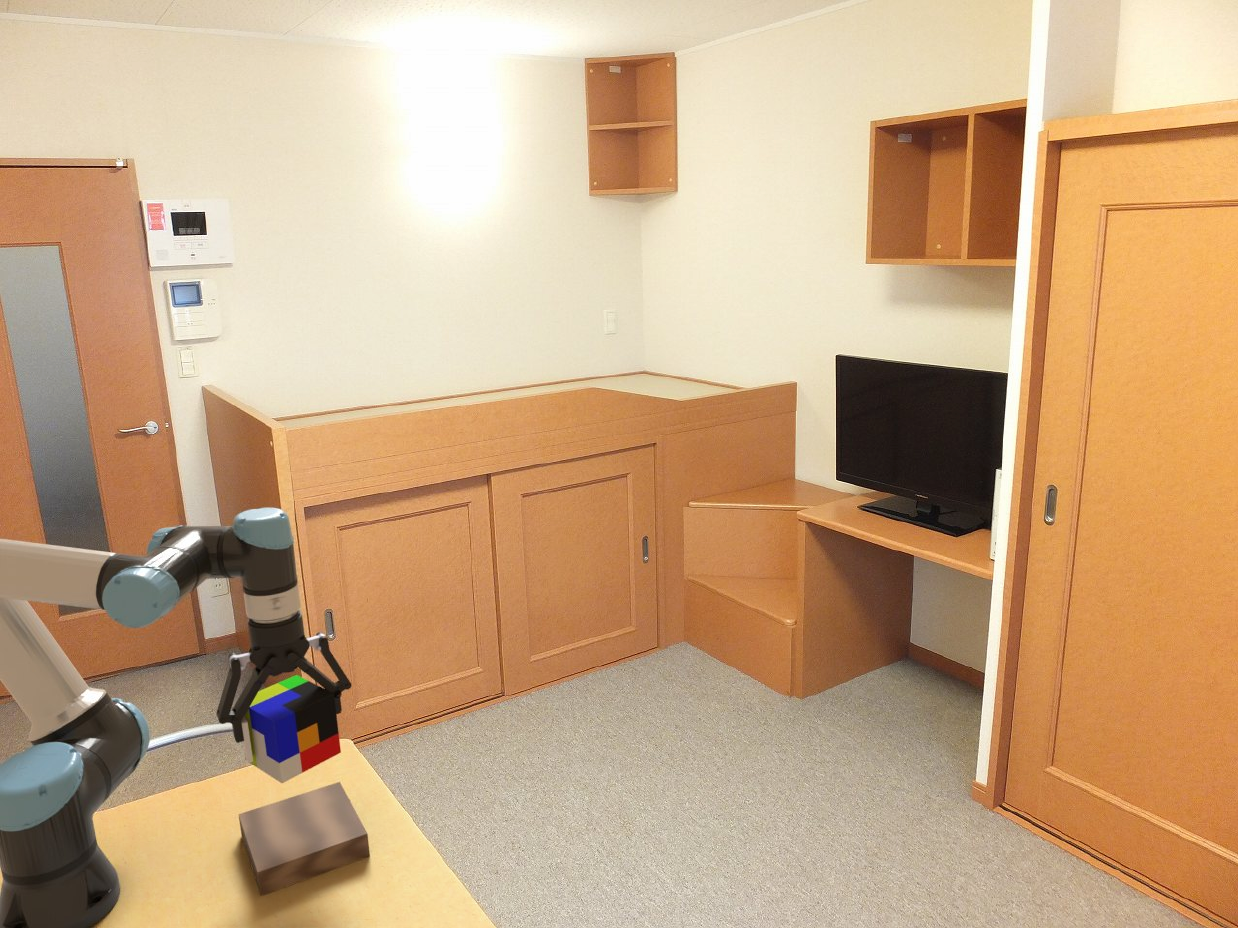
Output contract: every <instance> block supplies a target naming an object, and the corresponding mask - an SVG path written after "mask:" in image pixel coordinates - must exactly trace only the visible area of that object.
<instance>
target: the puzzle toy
mask: <svg viewBox="0 0 1238 928" xmlns="http://www.w3.org/2000/svg"><path fill="white" fill-rule="evenodd" d="M337 715H338V714H336V706H335V697H334V693H332V692H330V691H328V690H326V689H324V688H323V687H322V686H321V685H319V684H315V683H313V682H312V681H309V680H307V679H306V678H304V677H302V676H300V675H299V674H296V675H293V676H291V677H289V678H285V679H284V680H281V681H279V682H277V683H275V684H272V685H269V686H268V687H265V688H263V689H260V690H259V691H258V693H257V695H256V697H255V698H254V700H253V702H252V704H251V705H250V707H249V709H248V710H247V712H246V714H245V717H246V720H247V722H248V729H249V736H250V743H251V750H252V756H253V762H251V763H250V764H251V765H253V766H254V767H255V768H257V769H258V770H260V771H262V772H263V773H265V774H266V775H268V776H270V777H271V778H273V779H274V780H276V781H277V782H279V783H281V784H284V783H286V782H288V781H289V780H291V779H293V778H296V777H297V776H299V775H301V774H303V773H305V772H307V771H309V770H310V769H312V768H314V767H316V766H319V765H320V764H322V763H324V762H325V761H328V760H330V759H333V758H334V757H335V756H338V755H339V754H340V753H341V752H342V750H341V743H340V741H341V740H340V735H339V734H340V732H339V724H338V717H337ZM244 759H245V761H246V762H247V760H246V757H245V756H244Z"/></svg>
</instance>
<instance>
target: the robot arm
mask: <svg viewBox="0 0 1238 928" xmlns="http://www.w3.org/2000/svg"><path fill="white" fill-rule="evenodd" d="M232 523H233V524H232V525H206V526H205V525H201V526H200V525H191V526H190V525H182V524H181V525H177V526H171V527H170V526H169V527H162V528H160V529H158V530H156V531H155V532H153V534H152V537H151V540H149V542H148V543H147V547H146V548H147V549H146V555H135V554H127V553H118V552H109V551H103V550H95V549H88V548H79V547H78V548H77V547H70V546H62V545H56V544H54V545H53V544H47V543H39V542H38V543H37V542H31V541H22V540H15V539H7V538H0V682H1V683H2V684H3V686H4V687H5V689H6V690H7V691H8V693H9V694H10V695H11V697H12V698H13V699H14V700H15V702H16V703H17V704H18V706H19V707H20V709H21V710H22V711H23V713H24V714H25V716H26V717H27V719H28V720H29V722H31V727H30V731H29V734H28V736H27V737H28V738H27V739H28V741H30V743H31V744H32V746H29V747H27V748H25V749H24V750H25V751H23V752H16V753H15V754H13V755H11V756H9V757H7V758H6V759H5V760H4V761H2V762H1V763H0V871H1V875H2V883H1V888H0V928H91V927H93V926H94V925H96V924H97V923H99V922H100V921H101V920H102V919H103V918H105V917H106V916H107V914H109V912H110V911H112V909H113V908H114V907H115V905H116V903H117V902H118V900H119V898H120V893H121V884H120V879H119V875H118V874H119V873H118V872H117V870H116V868H115V867H114V865H113V864H112V863H111V861H110V860H109V858H108V857H107V856H106V854H105V853H104V851H103V850H102V849H101V848H100V845H98V841H97V840H98V839H97V836H96V830H95V825H94V820H93V818H94V814H95V812H97V810H98V809H99V808H100V807H101V806H102V805H103V804H104V803H106V802H107V800H108V798H109V797H110V796H111V795H112V794H113V793H114V792H115V790H117V788H119V786H120V785H121V784H122V783H123V782H124V781H125V780H126V779H128V778H129V777H130V776H131V775H132V774H133V773H134V772H135V771H136V770H137V768H138V766H139V764H140V762H142V760H143V758H144V757H145V756H146V753H147V751H148V749H149V745H150V740H151V734H150V727H149V723H148V721H147V719H146V717H145V715H144V714H143V713H142V711H141V710H140V709H139V707H137V706H136V705H135V704H133V703H132V702H129V701H128V702H125V700H124V699H123V698H118V697H110V695H109V693H107V691H106V689H102V688H95V687H91V686H88V684H87V682H86V681H85V680H84V678H83V677H82V675H81V674H80V672H78V669H76V667H75V666H74V664H73V663H72V662H71V660H70V659H69V657H68V656H67V655H66V653H65V651H64V650H63V649H62V648H61V647H62V646H60V645H59V643H58V642H57V640H56V639H55V637H54V636H53V635H52V633H51V632H50V631H49V629H48V627H47V626H46V625H45V623H44V622H43V621H42V619H41V618H40V617H39V615H38V613H36V611H35V610H34V608H33V606H31V604H30V603H29V602H34V603H35V602H36V603H45V604H52V605H53V604H54V605H59V606H60V605H61V606H70V607H78V608H87V609H93V610H94V609H95V610H101V611H102V610H104V611H105V613H106V614H107V615H108V617H109V618H111V620H113V621H115V622H117V623H119V624H120V625H121V626H122V627H125V628H131V629H141V628H144V627H148V626H150V625H152V624H153V623H155V622H156V621H158V620H160V619H162V618H164V617H165V615H168V614H169V613H171V611H172V610H173V609H175V606H177V605H178V604H179V603H180V602H181V601H182V600H184V599H185V597H187V596H188V595H189V594H190V593H192V592H193V591H194V590H196V589H197V588H198V587H199V586H200V585H201V584H203V583H204V582H205V581H206V580H211V579H212V580H213V579H235V578H237V579H239V578H240V582H241V585H242V586H241V587H242V591H243V592H242V593H243V598H244V599H243V600H244V607H245V614H246V617H247V618H248V619H247V628H248V634H249V643H250V649H249V650H248V652H247V653H246V652H245V653H241V654H237V652H236V653H235V652H231V653H230V654H229V655H228V664H229V665H228V667H229V668H228V672H227V676H226V680H225V683H224V686H223V690H222V693H221V696H220V700H219V703H218V705H217V706H218V707H217V709H216V717H217V720H218V722H219V724H221V725H223V724H227V723H229V724H231V726H232V734H233V738H234V741H235V742H236V743H237V744H239V743H242V746H243V753H244V758H245V757H246V759H245V761H246V760H247V761H246V762H247V764H251V762H253V756H252V750H251V743H250V736H249V729H248V722H247V720H246V717H245V714H246V712H247V710H248V709H249V707H250V705H251V704H252V702H253V700H254V698H255V697H256V695H257V693H258V691H261V688H262V687H263V684H266V681H267V680H268V678H269V676H272V678H274V677H277V676H280V675H282V674H284V673H289V674H290V673H293V672H295V671H296V670H297V668H299V670H301V671H302V672H303V673H304V674H306V675H307V676H308V677H310V678H311V679H313V681H315V682H316V683H317V685H319V686H320V687H322V688H324V689H326V690H328V691H330V692H332V693H334V697H335V706H336V715H338V714H342V710H343V709H342V702H341V701H342V700H341V698H342V692H344V691H345V690H346V691H347V690H350V689H351V688H352V683H351V681H350V680H349V677H347V674H346V673H345V672H344V669H342V666H341V665H340V664H339V663H338V661H337V660H336V658H335V656H334V654H332V651H331V649H330V645H329V644H330V643H329V639H328V638H327V636H326V635H325V633H324V632H323V631H318V632H317V633H316V635H315V636H314V635H313V636H311V637H306V634H305V628H304V619H303V612H302V610H301V607H302V605H301V603H302V602H301V597H300V590H299V589H300V588H299V583H298V574H297V573H298V572H297V566H296V556H295V547H294V546H295V545H294V544H295V541H294V536H293V533H292V528H291V523H290V518H289V515H288V513H287V512H286V511H285V510H283V509H280V508H277V507H260V508H251V509H246V510H244V511H242V512H239V513H238V514H236V515H235V517H234V518H233V522H232ZM310 647H312V648H313V649H314V651H317V652H318V651H319V652H320V653H321V655H322V656H323V658H324V659H325V661H326V662H327V664H328V666H329V667H330V669H331V671H332V672H333V673H334V675H335V677H337V679H338V680H337V681H335V682H334V681H332V680H331V678H329V677H328V676H327V675H326V674H324V673H323V672H322V671H321V670H320V669H318V668H317V667H316V666H315V665H314V664H313V663H312V662H311V661H309V660H308V659H307V658H306V657H305V656H306V654H307V653H308V650H309V649H310ZM249 662H250V663H252V664H253V665H254V667H253V670H252V673H251V676H250V677H249V680H248V681H247V683H246V685H245V686H244V688H243V690H242V692H241V693H240V695H239V697H238V698H237V700H236V702H235V704H234V706H233V703H234V701H235V698H236V693H237V690H238V687H239V684H240V680H241V675H242V671H243V670H245V669H246V667H247V664H249Z"/></svg>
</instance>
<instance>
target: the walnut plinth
mask: <svg viewBox="0 0 1238 928" xmlns="http://www.w3.org/2000/svg"><path fill="white" fill-rule="evenodd" d="M237 816H238V821H239V827H240V834H241V838H242V841H243V844H244V847H245V850H246V854H247V856H248V859H249V863H250V866H251V868H252V872H253V874H254V875H253V876H254V878H255V881H256V884H257V888H258V890H259V893H260V896H261V897H263V896H264V895H267V894H270V893H272V892H275V891H279V890H280V889H284V888H286V887H289V886H292V885H295V884H297V883H300V882H303V881H306V880H308V879H311V878H314V877H316V876H317V877H318V876H319V875H321V874H325V873H328V872H330V871H333V870H335V869H338V868H340V867H343V866H346V865H349V864H352V863H355V862H357V861H360V860H363V859H365V858H368V857H370V856H371V854H370V853H371V852H370V843H369V836H368V835H369V834H368V831H367V830H366V828H365V826H364V824H363V823H362V821H361V818H360V817H359V815H358V813H357V811H356V810H355V808H354V806H353V804H352V802H351V800H350V798H349V796H348V794H347V793H346V790H345V788H344V787H343V785H342V784H341V781H338V782H334V783H331V784H328V785H325V786H322V787H319V788H316V789H313V790H310V791H307V792H304V793H300V794H298V795H294V796H292V797H288V798H284V799H282V800H279V801H275V802H273V803H269V804H267V805H262V806H260V807H257V808H253V809H250V810H247V811H245V812H241V813H238V815H237Z"/></svg>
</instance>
